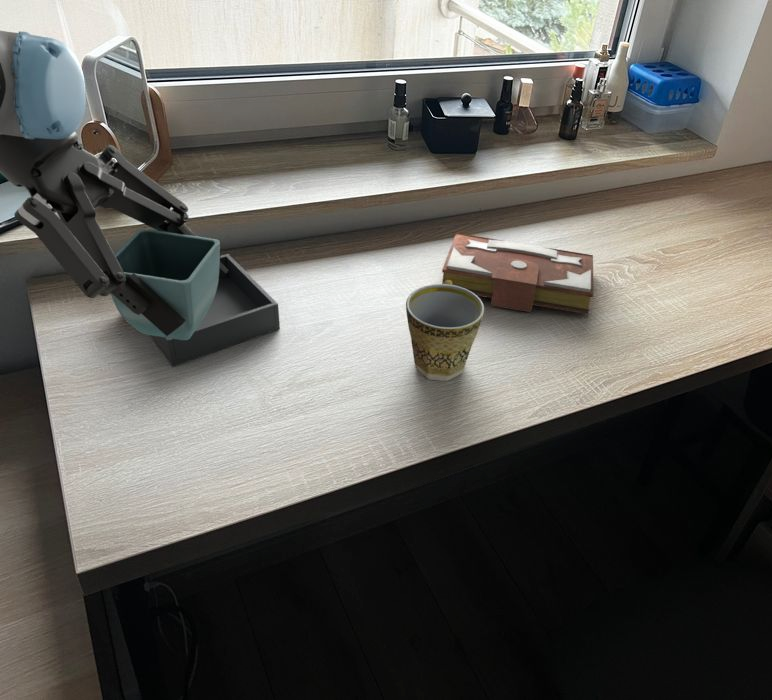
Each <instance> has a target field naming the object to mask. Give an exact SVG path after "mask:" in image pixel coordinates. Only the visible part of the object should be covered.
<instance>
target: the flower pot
mask: <svg viewBox="0 0 772 700" xmlns="http://www.w3.org/2000/svg"><path fill="white" fill-rule="evenodd" d="M197 236H198V235H196V236H191V235H183V234H177V233H170V232H163V231H158V230H156V229H149V228H140V229H139V230H137V231H136V232H134V234H133V235H132V236H131V237H130V238H129V239H128V240H127V241H126V242H125V244H124V245H123V246H122V247H120V249H119V250H118V251H117V252H116V253H114V255H115V257H116V258H117V260H118V262H119V264H120V266H121V268H122V270H123V272H124V274H125V276H126V279H127V278H129V277H130V276H131V275H132V274H133V273H134V274H135V275H137V276H138V277H139V278H140V279H141V280H142V281H143V282H144V283H145V284H146V285H148V286H149V287H150V288H151V289H152V290H153V291H154V292H155V293H156V294H157V295H159V296H160V297H161V298H162V299H163V300H164V301H165V302H166V303H167V304H168V305H170V306H171V307H172V308H173V309H174V310H175V311H176V312H177V313H178V314H179V315H181V316H182V317H183V318H184V319H185V320H186V321H185V322H184V323H183V324H182V325H181V326H180V327H179V328H177V329H176V330H175V331H173V332H172V333H171V334H169V335H168V336H166V335H165V334H164V333H163V332H161V331H160V330H159V329H158V328H157V327H156V326H155V325H154V324H152V323H151V322H150V321H149V320H148V319H147V318H146V317H145V316H143V315H142V314H140V315H137V314H135V313H133V312H132V311H131V310H130V309H129V308H128V307H127V306H126V305H124V304H123V303H122V302H121V301H120V300H119V299H117V298H116V297H115V296H114V295H113V294H111V293H110V294H109V295H110V296H111V299H112V301H113V304H114V306H115V307H116V309H117V311H118V313H119V314H120V316H121V317H122V318H123V319H124V320H125V321H126V322H127V323H128V324H129V325H130V326H131V327H133V328H134V329H136V331H138V332H139V333H140V334H143V335H147V336H149V335H153V336H160V337H167V338H172V339H179V340H188V339H190V337H191V336H192V334H193V333H194V331H195V330H196V328H197V327H198V325H199V324H200V322H201V321H202V320H203V318H204V317H205V315H206V313H207V311H208V310H209V308H210V306H211V304H212V301H213V299H214V297H215V294H216V290H217V286H218V281H219V261H220V256H221V255H220V254H221V253H220V252H221V242H220V240H219V239H217V238H216V239H215V238H211V237H203V236H198V237H197Z"/></svg>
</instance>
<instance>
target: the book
mask: <svg viewBox="0 0 772 700" xmlns="http://www.w3.org/2000/svg"><path fill="white" fill-rule="evenodd" d="M441 271H442V272H441V273H443V275H442V282H441V284H444V282H445V280H451V281H452V285H455V286H459V287H462V288H464V289H467V290H469V291H471V292H472V293H474V294H475V295H476V296H478V297H483V298H487V299H491V302H490V306H491V307H497V308H504V309H510V310H515V311H521V312H527V313H532V310H533V306H536V307H542V308H543V307H544V308H550V309H554V310H560V311H566V312H574V313H579V314H584V315H589V314H590V303H591V299H592V298H593V297H594V255H593V254H588V253H583V252H576V251H570V250H564V249H557V248H551V247H546V246H539V245H534V244H529V243H525V242H523V243H522V242H516V241H509V240H501V239H496V238H489V237H484V236H479V235H470V234H465V233H460V232H456V233H455V236H454V238H453V241H452V243H451V246H450V248H449V251H448V254H447V256H446V259H445V262H444V264H443V266H442V270H441Z"/></svg>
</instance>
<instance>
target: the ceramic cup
mask: <svg viewBox="0 0 772 700" xmlns="http://www.w3.org/2000/svg"><path fill="white" fill-rule="evenodd" d="M405 310H406V312H405V313H406V318H407V326H408V331H409V335H410V340H411V347H412V354H413V361H414V368H415V369H416V370H417V371H418V372H419V373H420V374H422V375H423V376H424V377H425V378H426V379H428V380H430V381H440V382H448V381H450V380H452V379H454V378H456V377H458V376H460V375H461V374H463V372H464V370H465V367H466V364H467V361H468V358H469V355H470V353H471V349H472V347H473V343H474V341H475V339H476V337H477V335H478V332H479V329H480V327H481V323H482V321H483V318H484V313H485V306H484V303H483V301H482V299H481V298H480V296H476V295H475V294H474V293H472V292H471V291H469V290H467V289H464V288H462V287H459V286H455V285H452V281H451V280H445V282H444V284H442V283H436V284H428V285H424V286H421V287H419V288H417V289H415V290H414V291H412V292H411V293H410V294H409V295H408V297H407V298H406V302H405Z"/></svg>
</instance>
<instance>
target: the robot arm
mask: <svg viewBox="0 0 772 700" xmlns="http://www.w3.org/2000/svg"><path fill="white" fill-rule="evenodd" d="M86 97H87V95H86V81H85V76H84V72H83V69H82V66H81V64H80V62H79V60H78V58H77V56H76V55H75V52H73V51H72V50H71V49H70V48H69V46H68V45H66V44H65V43H64V42H62V41H60V40H58V39H56V38H53V37H48V36H47V37H46V36H42V35H41V36H40V35H35V34H31V33H29V32H27V31H21V30H19V31H18V32H13V31H5V30H0V174H1V175H2V176H3V177H4V178H5V179H6V180H7V181H9V182H10V183H11V184H12V185H13V186H15V187H18V188H25V189H26V190H27V192H28V194H29V196H30V197H27V198H26V199H25V200H24V202H23V203H22V204H21V205H20V206H19V207H18V209H16V211H15V212H14V213H13V215H14V218H15V219H16V220H17V221H18V222H19V223H20V224H22V225H23V226H24V227H25V228H27V229H28V230H30V231H31V232H33V233H34V234H35V235H36V236H37V238H38V239H39V240H40V241H41V243H42V244H43V245H44V246H45V248H46V249H47V250H48V251H49V252H50V254H51V255H52V256H53V257H54V258H55V260H56V261H57V262H58V263H59V265H60V266H61V267H62V268H63V270H65V272H66V273H67V275H69V277H70V278H71V279H72V281H73V282H74V283H75V284H76V285H77V286H78V288H79V289H80V290H81V291H82V293H83V294H84V295H85V296H86V297H87V298H90V299H94V298H96V297H97V296H101V297H107V296H109V295H111V294H113V295H114V296H115V297H116V298H117V299H119V300H120V301H121V302H122V303H123V304H124V305H126V306H127V307H128V308H129V309H130V310H131V311H132V312H133V313H135V314H137V315H140V314H142V315H143V316H145V317H146V318H147V319H148V320H149V321H150V322H151V323H152V324H154V325H155V326H156V327H157V328H158V329H159V330H160V331H161V332H163V333H164V334H165V335H166V336H168V335H169V334H171V333H172V332H173V331H175V330H176V329H177V328H179V327H180V326H181V325H182V324H183V323H184V322H185V321H186V320H185V319H184V318H183V317H182V316H181V315H179V314H178V313H177V312H176V311H175V310H174V309H173V308H172V307H171V306H170V305H168V304H167V303H166V302H165V301H164V300H163V299H162V298H161V297H160V296H159V295H157V294H156V293H155V292H154V291H153V290H152V289H151V288H150V287H149V286H148V285H146V284H145V283H144V282H143V281H142V280H141V279H140V278H139V277H138V276H137V275H135V274H134V273H133V274H132V275H131V276H130V277H129V278H127V279H126V276H125V274H124V272H123V270H122V268H121V266H120V264H119V262H118V260H117V258H116V257H115V253H114V251H113V249H112V247H111V245H110V243H109V242H108V240H107V238H106V235H105V234H104V232H103V231H102V228H101V227H100V225H99V223H98V221H97V219H96V215H97V214H96V208H97V207H101V208H102V209H103V208H104V209H113V210H114V211H117V212H119V213H121V214H123V215H125V216H127V217H129V218H131V219H133V220H134V221H138V222H140V223H141V224H144V225H146V226H148V227H149V228H151V229H153V230H157V231H163V232H170V233H177V234H183V235H191V236H197V237H199V236H198V235H196V233H195V232H193V230H191V228H190V227H188V226H187V224H186V223H187V222H188V221H189V220H190V216H189V215H188V212H189V207H188V205H187V204H185V203H184V202H183V201H181V200H180V199H179V198H177V197H176V196H175V195H173V194H172V193H171V192H169V191H168V190H167V189H166V188H164V187H163V186H161V185H160V184H159V183H158V182H156V181H155V180H153V179H152V178H151V177H149V176H148V175H146V173H144V172H143V171H141V170H140V169H139V168H137V167H136V166H135V165H134V164H132V163H130V162H129V161H128V160H127V159H126V157H125V156H124V155H123V154H122V153H121V152H120V150H118V148H116V146H115V145H112V144H108V145H106V146H105V147H104V149H103V150H102V151H101V152H98V153H96V154H93V153H92V152H90V151H87V150H86V149H84V148H83V147H82V146H80V144H79V141H78V139H79V137H78V134H77V132H76V131H77V130H78V129H79V127H80V126H81V123H82V122H83V118H84V115H85V111H86V105H87V100H86V99H87V98H86ZM171 208H172V209H171ZM54 211H55V212H56V213H55V212H54ZM228 271H229V270H228V269H227V268H226V267H225V266H224V265H223V264H222V263H221V262H220V261H219V279H220V278H221V277H222V276H224V275H225V274H226V273H227V272H228ZM110 293H111V294H110Z"/></svg>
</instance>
